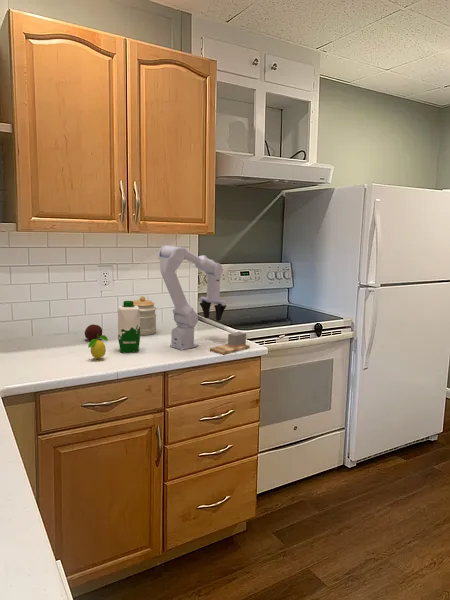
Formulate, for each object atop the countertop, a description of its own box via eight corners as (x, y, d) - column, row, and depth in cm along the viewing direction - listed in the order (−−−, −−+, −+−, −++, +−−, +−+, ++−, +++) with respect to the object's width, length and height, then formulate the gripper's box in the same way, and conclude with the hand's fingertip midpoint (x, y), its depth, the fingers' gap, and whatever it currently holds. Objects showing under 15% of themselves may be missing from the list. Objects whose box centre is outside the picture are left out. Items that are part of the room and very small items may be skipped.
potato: (105, 340, 207) (105, 325, 206) (88, 343, 202) (88, 327, 201) (98, 337, 212) (98, 322, 211) (81, 339, 208) (81, 324, 207)
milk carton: (138, 347, 198) (138, 300, 195) (140, 352, 189) (140, 304, 186) (117, 347, 196) (117, 300, 192) (118, 353, 187) (118, 304, 184)
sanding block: (234, 347, 197) (235, 335, 197) (227, 345, 200) (228, 334, 199) (245, 344, 202) (246, 333, 202) (238, 342, 205) (239, 331, 204)
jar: (144, 337, 215) (144, 299, 212) (122, 333, 221) (122, 296, 219) (161, 332, 226) (162, 296, 223) (140, 328, 233) (140, 293, 230)
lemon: (108, 356, 182) (108, 331, 181) (106, 361, 177) (106, 335, 175) (90, 357, 181) (90, 331, 180) (88, 361, 176) (87, 335, 174)
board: (223, 354, 190) (223, 351, 190) (210, 350, 195) (210, 348, 195) (249, 348, 201) (249, 345, 201) (235, 344, 207) (236, 341, 207)
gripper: (231, 290, 207) (230, 320, 209) (208, 286, 217) (207, 315, 219) (220, 291, 202) (219, 322, 204) (197, 287, 212) (196, 317, 214)
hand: (212, 319), depth 211 cm, fingers open, 7 cm apart
